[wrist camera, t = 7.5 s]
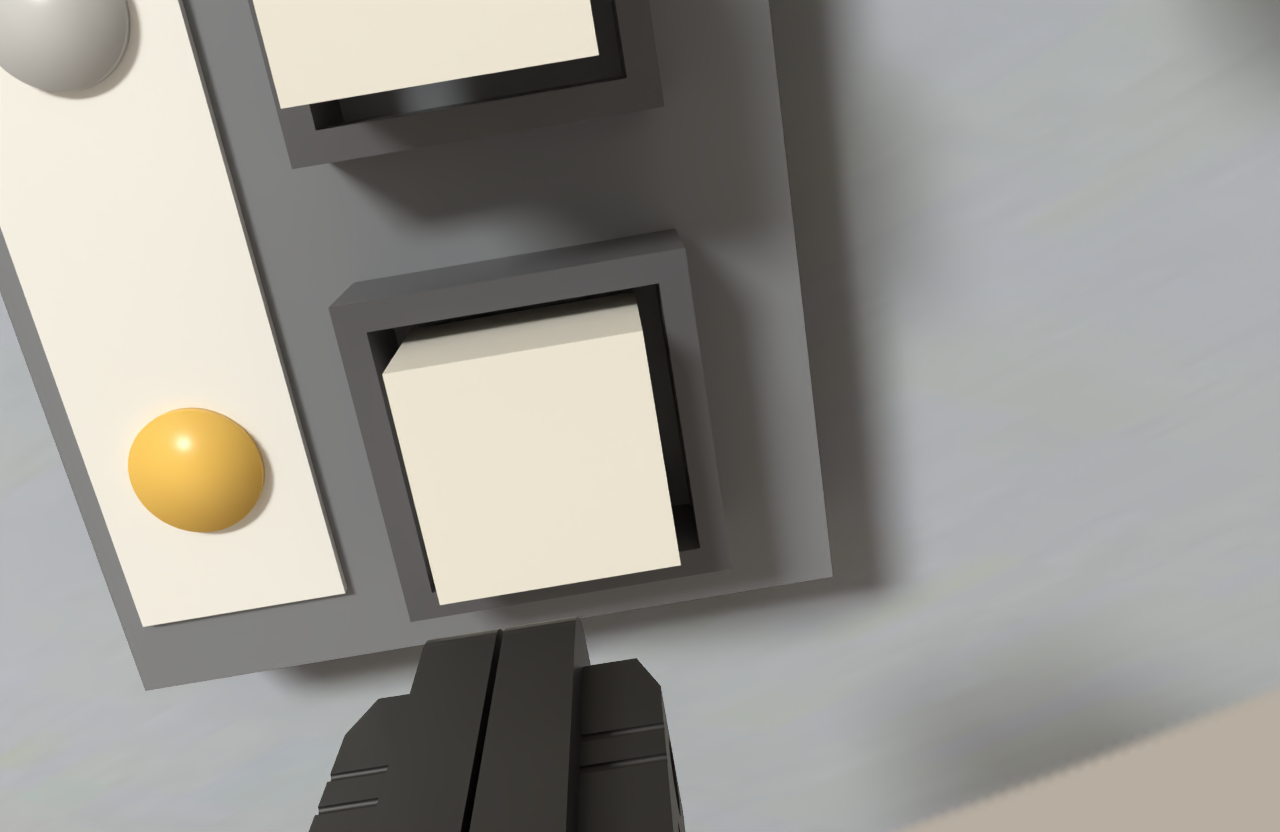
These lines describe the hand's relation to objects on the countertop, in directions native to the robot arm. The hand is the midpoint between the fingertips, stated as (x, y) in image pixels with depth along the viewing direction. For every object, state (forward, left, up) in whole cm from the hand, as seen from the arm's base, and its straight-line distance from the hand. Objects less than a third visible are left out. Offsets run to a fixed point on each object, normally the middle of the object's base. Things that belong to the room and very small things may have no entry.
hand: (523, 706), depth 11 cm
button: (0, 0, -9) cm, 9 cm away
